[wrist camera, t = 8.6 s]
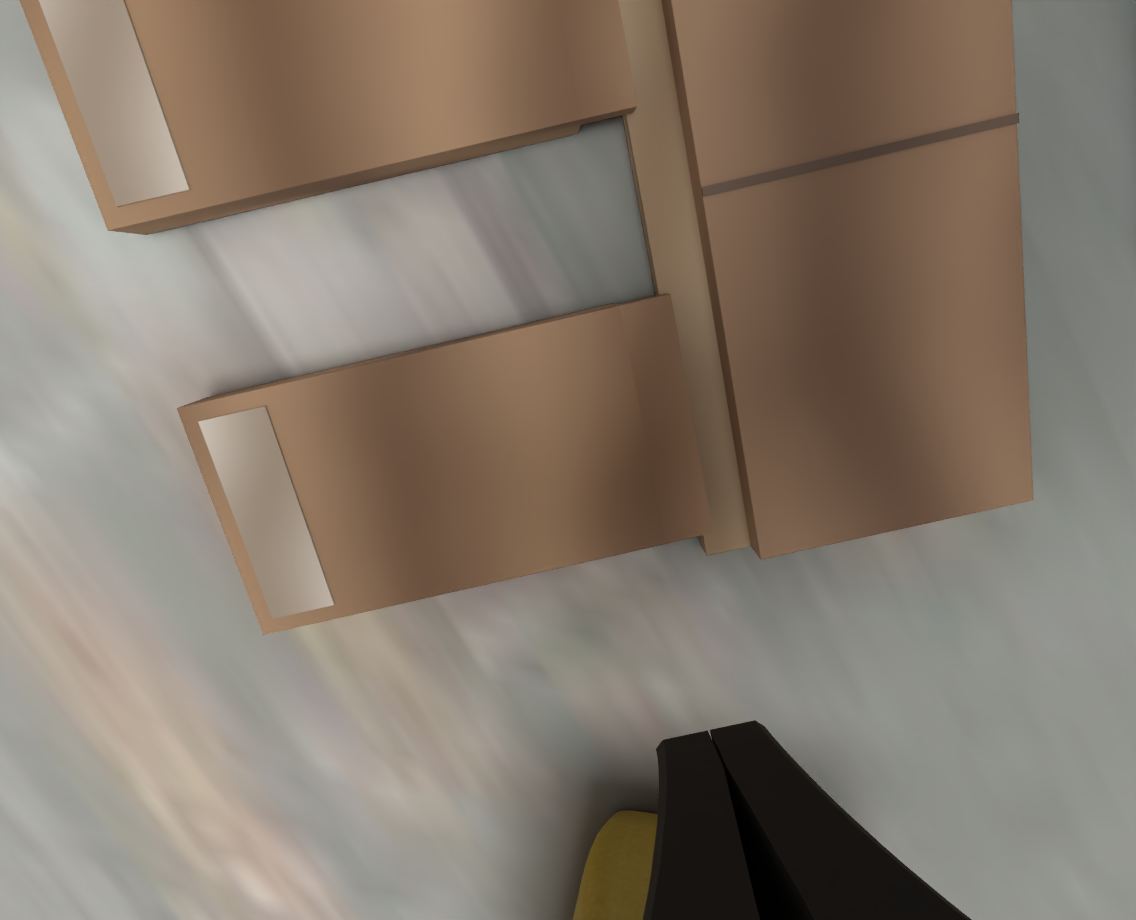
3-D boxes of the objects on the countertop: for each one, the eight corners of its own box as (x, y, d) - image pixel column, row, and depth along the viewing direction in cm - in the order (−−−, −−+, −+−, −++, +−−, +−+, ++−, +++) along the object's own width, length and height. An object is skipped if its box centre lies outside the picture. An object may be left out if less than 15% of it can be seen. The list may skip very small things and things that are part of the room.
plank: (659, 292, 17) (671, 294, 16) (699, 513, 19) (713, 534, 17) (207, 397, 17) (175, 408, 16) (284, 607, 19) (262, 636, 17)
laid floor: (946, -335, 14) (996, -410, 12) (995, 482, 19) (1035, 500, 17) (557, -237, 14) (558, -298, 13) (701, 546, 19) (715, 570, 17)
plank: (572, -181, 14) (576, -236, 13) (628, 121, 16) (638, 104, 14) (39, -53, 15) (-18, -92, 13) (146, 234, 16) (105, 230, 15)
